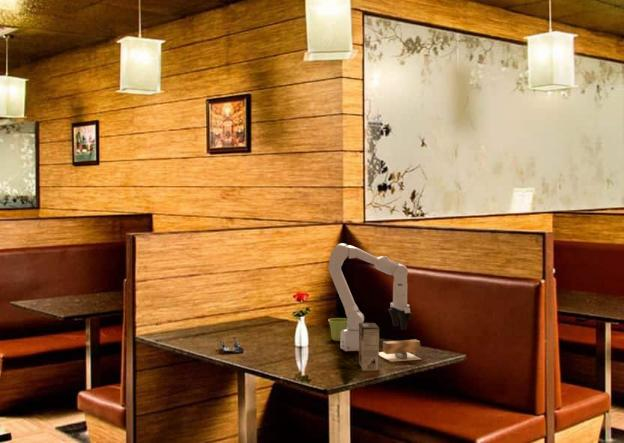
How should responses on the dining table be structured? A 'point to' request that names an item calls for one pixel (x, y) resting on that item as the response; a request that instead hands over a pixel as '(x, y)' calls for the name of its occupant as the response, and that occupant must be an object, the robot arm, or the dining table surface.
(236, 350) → the grey irregular piece
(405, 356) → the fulcrum strip
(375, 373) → the dining table surface
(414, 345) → the oak bar
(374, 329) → the coffee box
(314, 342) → the dining table surface
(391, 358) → the serving board
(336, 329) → the plant pot
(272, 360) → the dining table surface
